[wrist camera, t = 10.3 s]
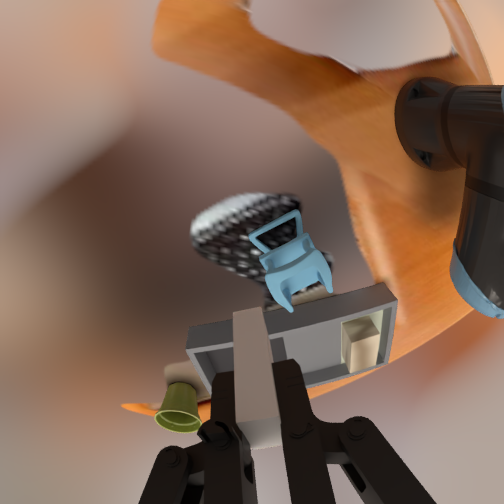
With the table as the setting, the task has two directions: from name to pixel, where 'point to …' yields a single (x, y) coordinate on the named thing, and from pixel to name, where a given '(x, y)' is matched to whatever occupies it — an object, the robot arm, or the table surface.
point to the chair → (291, 262)
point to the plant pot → (179, 409)
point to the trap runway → (302, 336)
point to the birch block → (360, 343)
